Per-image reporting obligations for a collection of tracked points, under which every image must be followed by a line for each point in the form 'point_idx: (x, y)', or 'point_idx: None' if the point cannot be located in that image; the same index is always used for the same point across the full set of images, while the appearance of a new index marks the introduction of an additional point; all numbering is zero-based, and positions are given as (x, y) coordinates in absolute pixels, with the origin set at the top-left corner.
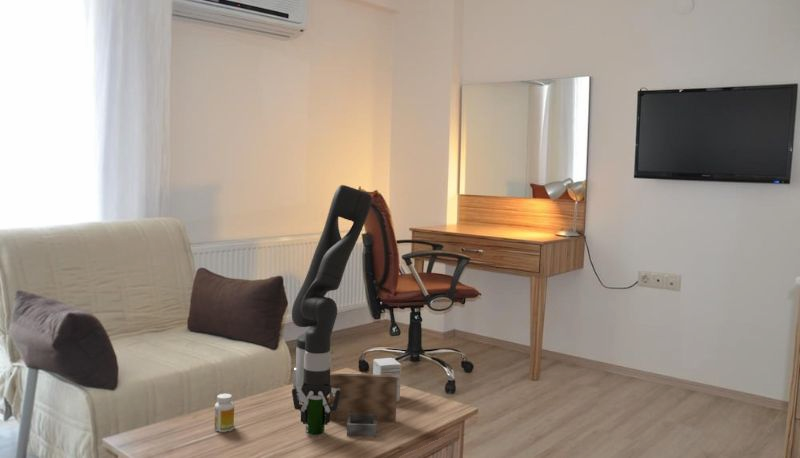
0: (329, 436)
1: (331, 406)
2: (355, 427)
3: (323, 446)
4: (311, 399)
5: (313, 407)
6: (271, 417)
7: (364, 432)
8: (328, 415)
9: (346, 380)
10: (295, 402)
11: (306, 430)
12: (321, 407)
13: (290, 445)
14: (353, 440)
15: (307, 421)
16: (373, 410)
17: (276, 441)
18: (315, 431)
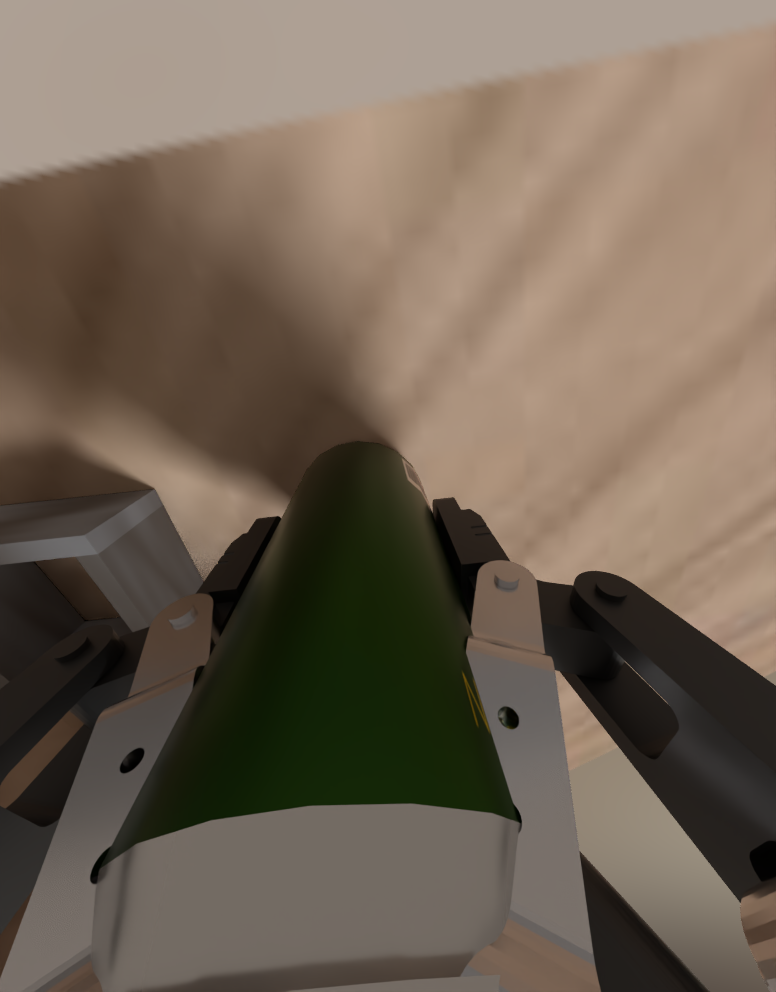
0: (261, 469)
1: (127, 684)
2: (37, 529)
3: (235, 279)
4: (414, 794)
5: (352, 592)
6: None
7: (7, 515)
8: (219, 578)
9: None
10: (699, 660)
11: (414, 471)
12: (232, 627)
13: (504, 252)
14: (74, 436)
15: (418, 498)
16: (67, 728)
17: (609, 320)
18: (342, 451)
